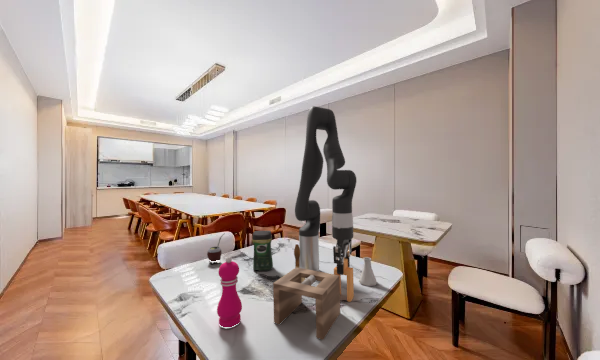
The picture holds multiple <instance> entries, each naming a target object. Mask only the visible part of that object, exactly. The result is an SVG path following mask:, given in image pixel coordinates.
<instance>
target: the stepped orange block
mask: <svg viewBox="0 0 600 360" xmlns="http://www.w3.org/2000/svg"><path fill="white" fill-rule="evenodd" d="M343 268H344V274H343V275H340V296H341V295H342V279H341V278H342V276H346V298H347V299H346V301H347V302H348V303H349V302H352V301H353V299H354V297H355V294H354V291H355V290H354V289H355V288H354V267H348V259H345V258H344V263H343ZM333 274H334V275H339V274H337V265H336V266H335V267H334V268H333Z"/></svg>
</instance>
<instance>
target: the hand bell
mask: <svg viewBox="0 0 600 360" xmlns="http://www.w3.org/2000/svg"><path fill="white" fill-rule="evenodd" d="M293 255H294V260H295V262H294V266H295V267H294V269H295V268H296V267H297V268H299V257H300V248H299V243H298V244H295V246H294V248H293ZM305 279H306V278H302V277H301V281H302V282H303V281H304V280H305Z"/></svg>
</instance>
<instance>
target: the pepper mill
mask: <svg viewBox="0 0 600 360" xmlns="http://www.w3.org/2000/svg"><path fill="white" fill-rule="evenodd" d="M218 268H219V269H218V275H219V278H220V279H219V280H220V285H221V288H222V289H221V291H222V293H221V297H220V298H219V302H218V303H217V309H216V314H217V316H218V317H219V318H218V325H219V324H220V325H221V326H223V327H232V326H234V325H236V324H238V323H239V322H240V323H241V321H240V320H241V316H242V315H241V312H242V309H243V304H242V301H241V298H240V296H239V294H238V291H237V283H238V281H239V280H238V275H239V273H240V267H239V264H238V263H237V262H235V261H233V260H232V256H226V258H225V262H223V263H221V264H220V266H219V267H218ZM240 323H239V324H240Z"/></svg>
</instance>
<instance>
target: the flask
mask: <svg viewBox="0 0 600 360" xmlns="http://www.w3.org/2000/svg"><path fill="white" fill-rule="evenodd" d="M362 259H363V268H362V272H361V274H360V277H359V280H358V282H359V283H360V284H361V286H367V287H372V286H374V287H375V286H376V285H377V283H378V281H377V278H376V276H375V273H374V271H373V267H372V258H371V257H368V256H366V257H363V258H362Z"/></svg>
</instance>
